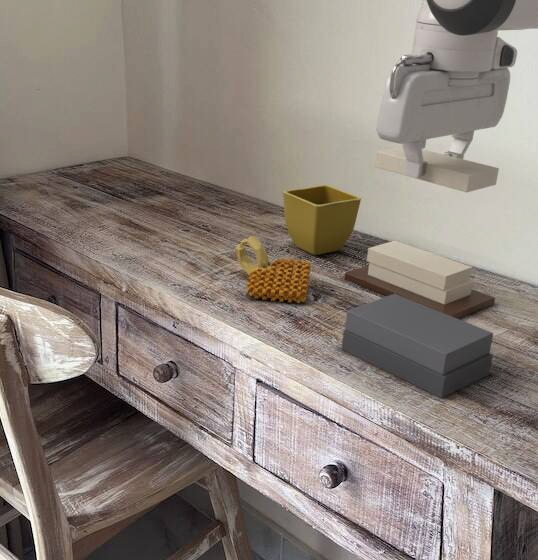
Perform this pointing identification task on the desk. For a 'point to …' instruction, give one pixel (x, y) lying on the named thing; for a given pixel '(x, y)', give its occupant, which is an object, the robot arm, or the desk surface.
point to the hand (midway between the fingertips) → (434, 171)
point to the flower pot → (320, 217)
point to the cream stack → (420, 279)
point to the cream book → (441, 169)
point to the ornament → (273, 274)
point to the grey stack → (418, 344)
